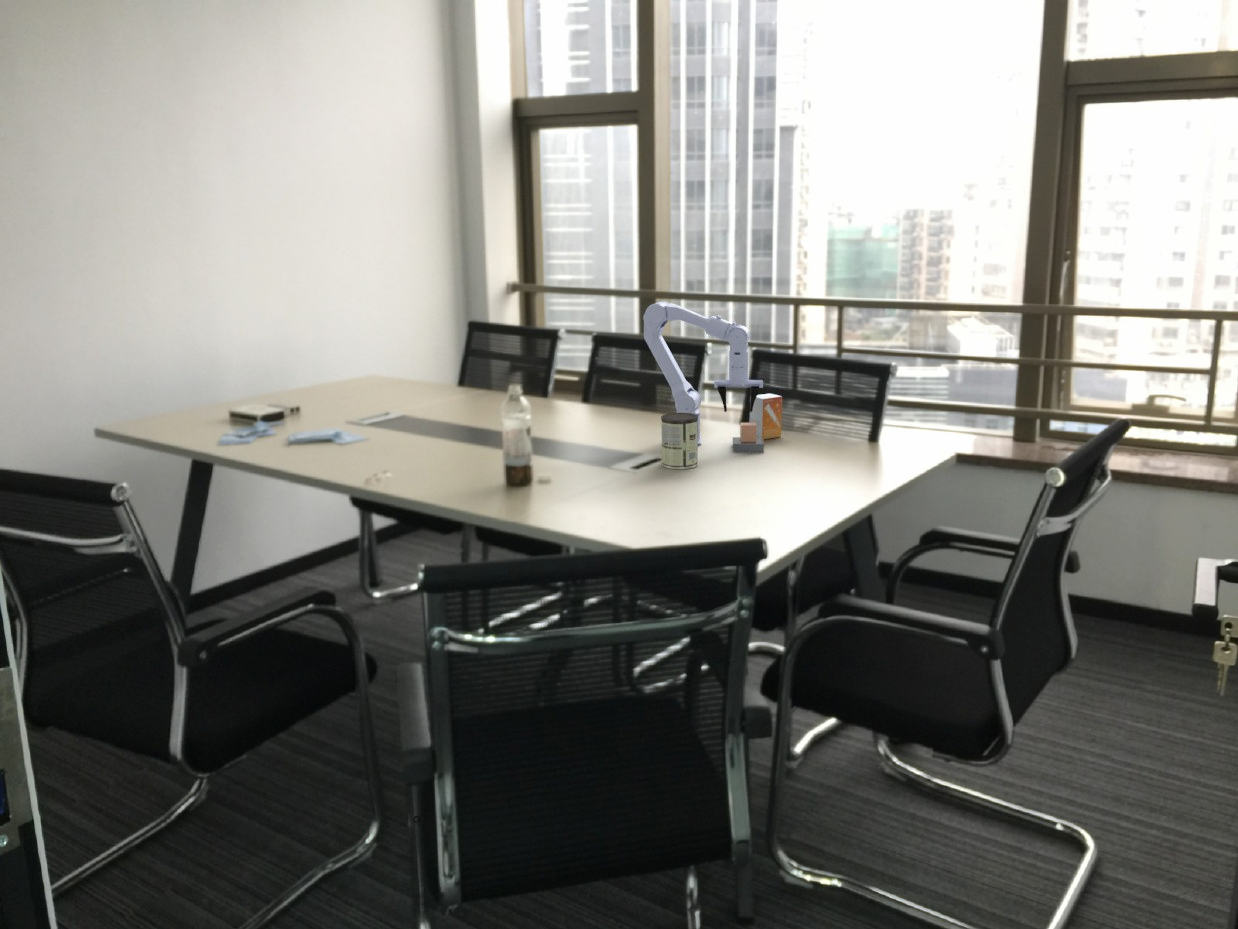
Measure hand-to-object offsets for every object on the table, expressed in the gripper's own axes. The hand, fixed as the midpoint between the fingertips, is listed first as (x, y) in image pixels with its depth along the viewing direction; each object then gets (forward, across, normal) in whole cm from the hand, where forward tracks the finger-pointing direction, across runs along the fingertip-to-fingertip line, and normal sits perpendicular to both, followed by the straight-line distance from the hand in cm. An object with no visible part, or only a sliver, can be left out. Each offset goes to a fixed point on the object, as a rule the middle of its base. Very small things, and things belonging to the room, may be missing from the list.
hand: (738, 411), depth 322 cm
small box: (+11, +9, +11) cm, 18 cm away
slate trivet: (+11, +3, -5) cm, 12 cm away
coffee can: (+11, -17, -25) cm, 32 cm away
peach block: (+8, +3, -5) cm, 10 cm away
